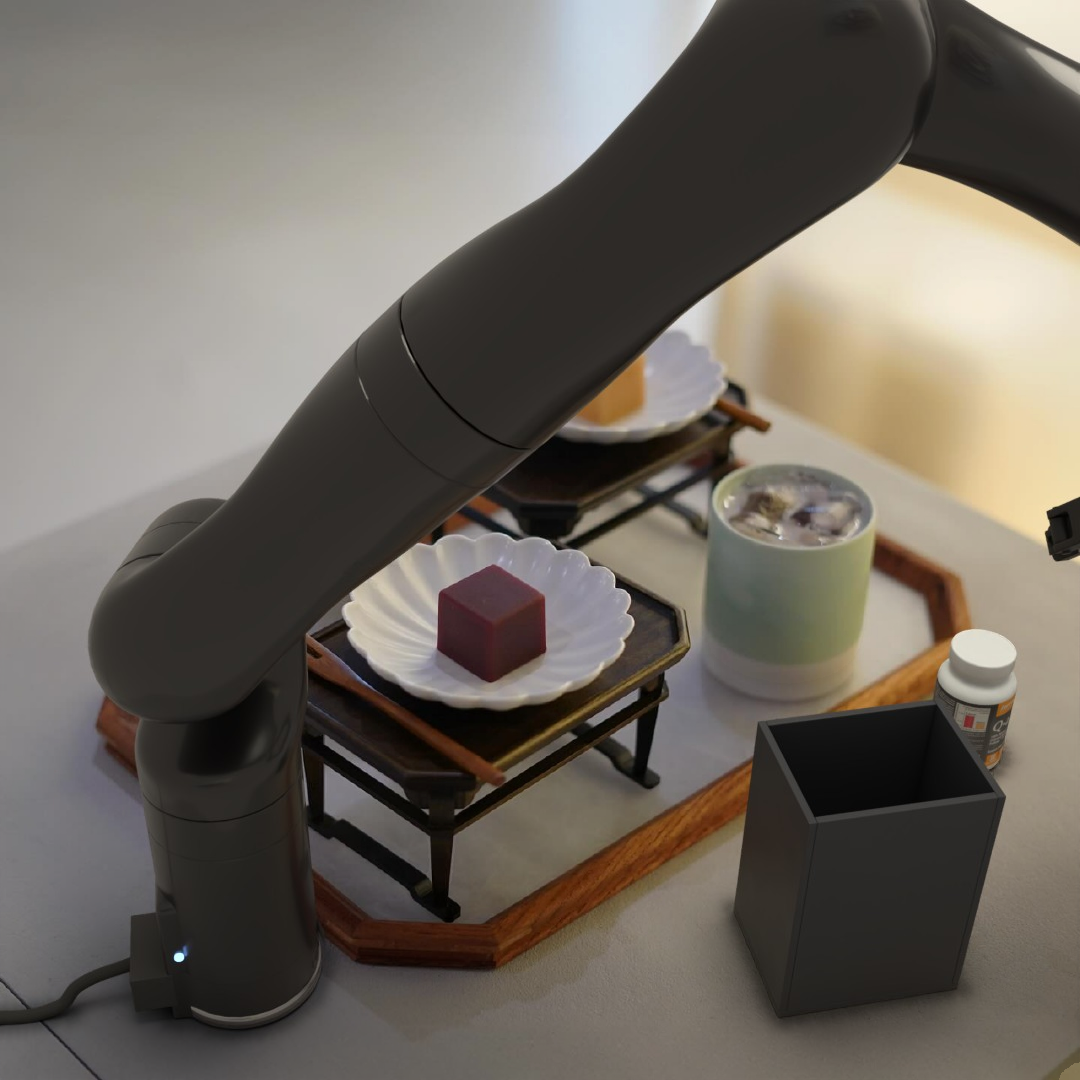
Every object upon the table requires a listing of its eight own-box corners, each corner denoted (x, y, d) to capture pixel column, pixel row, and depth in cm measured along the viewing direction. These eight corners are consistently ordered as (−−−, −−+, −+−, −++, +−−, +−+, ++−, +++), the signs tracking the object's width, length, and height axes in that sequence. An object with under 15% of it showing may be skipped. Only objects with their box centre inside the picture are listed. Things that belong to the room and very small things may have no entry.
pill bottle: (1001, 782, 112) (1027, 677, 107) (922, 770, 113) (944, 666, 108) (998, 733, 117) (1023, 630, 112) (922, 722, 118) (943, 619, 113)
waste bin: (778, 1018, 94) (809, 824, 85) (733, 910, 101) (757, 721, 92) (957, 988, 96) (1006, 796, 87) (901, 885, 104) (940, 697, 95)
